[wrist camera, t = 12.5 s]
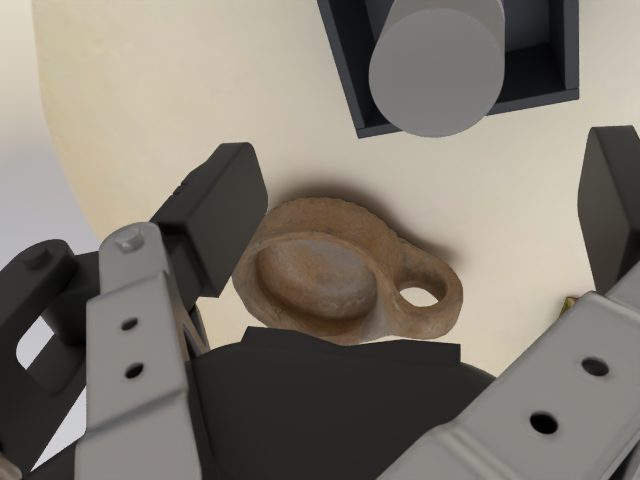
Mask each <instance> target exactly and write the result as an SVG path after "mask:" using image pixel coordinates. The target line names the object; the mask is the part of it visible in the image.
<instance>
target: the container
mask: <svg viewBox="0 0 640 480" xmlns="http://www.w3.org/2000/svg"><path fill="white" fill-rule="evenodd" d="M504 64H505V14H504V3H503V0H395V1H394V3H393V5H392V7H391V9H390V12H389V15H388V17H387V20H386V22H385V25H384V27H383V30H382V32H381V35H380V37H379V39H378V42H377V44H376V47H375V49H374V52H373V55H372V58H371V61H370V67H369V85H370V90H371V94H372V97H373V99H374V102H375V104H376V105H377V107H378V109H379V110H380V112H381V113H382V114H383V115H384V117H385V118H386V119H387V120H388V121H390V122H391V123H392V124H393V125H395V126H396V127H398V128H399V129H401V130H403V131H405V132H407V133H410V134H413V135H417V136H422V137H445V136H450V135H453V134H457V133H459V132H462V131H464V130H466V129H468V128H470V127H471V126H473V125H474V124H476V123H477V122H478V121H480V120H481V119H482V118H483V117H484V116H485V115H486V114H487V113H488V112H489V110H490V109H491V108H492V106H493V105H494V103H495V102H496V100H497V98H498V96H499V94H500V91H501V88H502V85H503V80H504Z"/></svg>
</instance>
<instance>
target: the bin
mask: <svg viewBox="0 0 640 480" xmlns="http://www.w3.org/2000/svg"><path fill="white" fill-rule="evenodd" d="M394 1H395V0H317V3H318V6H319V10H320V13H321V16H322V20H323V23H324V26H325V30H326V33H327V36H328V40H329V43H330V46H331V50H332V53H333V56H334V60H335V63H336V66H337V70H338V73H339V76H340V80H341V83H342V86H343V90H344V93H345V96H346V100H347V103H348V106H349V110H350V113H351V116H352V120H353V123H354V126H355V129H356V133H357V136H358V139H360V138H366V137H371V136H377V135H383V134H388V133H394V132H399V131H403V130H401V129H399V128H398V127H396V126H395V125H393V124H392V123H391V122H390V121H388V120H387V119H386V118H385V117H384V115H383V114H382V113H381V112H380V110H379V109H378V107H377V105H376V104H375V102H374V99H373V97H372V94H371V90H370V85H369V67H370V61H371V58H372V55H373V52H374V49H375V47H376V44H377V42H378V39H379V37H380V35H381V32H382V30H383V27H384V25H385V22H386V20H387V17H388V15H389V12H390V9H391V7H392V5H393V3H394ZM503 3H504V14H505V64H504V80H503V85H502V88H501V91H500V94H499V96H498V98H497V100H496V102H495V103H494V105H493V106H492V108H491V109H490V110H489V112H488V113H487V114H486V115H485V116H488V115H494V114H500V113H505V112H511V111H516V110H522V109H527V108H533V107H539V106H544V105H550V104H555V103H561V102H566V101H572V100H578V99H579V0H503Z"/></svg>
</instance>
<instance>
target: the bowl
mask: <svg viewBox="0 0 640 480" xmlns="http://www.w3.org/2000/svg"><path fill="white" fill-rule="evenodd" d="M231 277H232V281H233V285H234V288H235V290H236V291H237V293H238V295H239V296H240V298H241V300H242V301H243V303H244V305H245V307H246V309H247V310H248V312H249V313H250V314H251V315H253V316H254V317H255V318H256V319H258V320H259V321H261V322H262V323H263V324H265V325H266V326H267V327H269V328H276V329H288V330H296V331H299V332H302V333H305V334H308V335H311V336H314V337H317V338H320V339H323V340H326V341H329V342H332V343H335V344H338V345H342V346H351V345H357V344H360V343H363V342H368V341H372V340H376V339H378V338H381V337H384V336H389V335H394V336H400V337H406V338H413V339H421V340H426V339H435V338H439V337H441V336H444V335H446V334H447V333H448V332H449V331H450V330H451V329H452V328H453V327H454V325H455V323H456V322H457V319H458V316H459V313H460V310H461V307H462V304H463V287H462V284H461V281H460V279H459V278H458V276H457V275H456V273H455V272H454V271H453V269H452V268H451V267H449V266H448V265H447V264H446V263H445V262H443V261H442V260H440V259H439V258H437V257H436V256H434V255H433V254H431V253H428V252H426V251H424V250H421V249H419V248H417V247H416V246H414V245H412V244H410V243H409V242H407V241H406V240H405V239H402V238H399V237H397V235H396V233H395V231H394V230H392V229H391V228H388V227H387V225H386V223H385V222H384V221H383V220H381V219H379V218H378V217H377V216H376V215H375V214H371V213H369V212H368V210H367V209H366V208H364V207H359V206H357V205H356V204H355V203H353V202H345V201H344V200H342V199H339V198H335V199H331V198H328V197H321V198H314V197H308V198H305V199H304V198H298V199H295V200H294V201H292V202H285V203H283V205H282V206H281V207H276V208H274V209H273V210H271V211H270V212H269V214H267V215H265V216H264V217H263V219H262V221H261V223H260V225H259V226H258V228H257V230H256V232H255V233H254V235H253V237H252V239H251V241H250V242H249V244H248V246H247V248H246V250H245V251H244V253H243V255H242V257H241V258H240V260H239V262H238V264H237V266H236V267H235V269H234V271H233V273H232V275H231ZM410 287H417V288H421V289H425V290H426V291H428V292H429V293H430V294H432V295H433V296H434V297H435V298H436V299H437V300H438V301H439V302H437V303H435V304H433V305H431V306H427V307H417V306H414V305H412V304H411V303H409V302H408V301H406V300H405V299H404V298H403V297H402V296H401V294H400V293H399V292H400V291H401V290H403V289H406V288H410Z"/></svg>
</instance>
